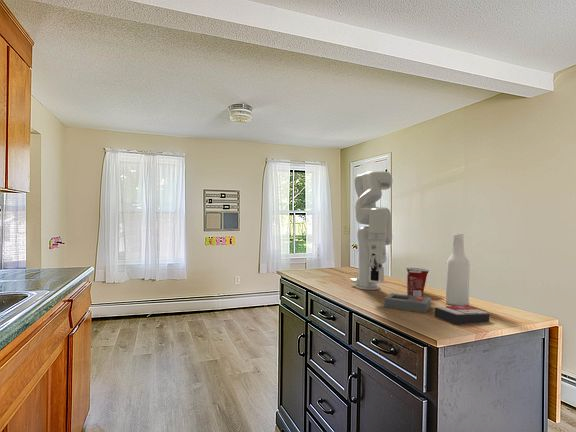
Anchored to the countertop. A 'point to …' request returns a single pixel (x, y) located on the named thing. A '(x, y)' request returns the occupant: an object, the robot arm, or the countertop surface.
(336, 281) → the countertop surface
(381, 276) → the plug
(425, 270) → the plastic cup
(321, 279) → the countertop surface
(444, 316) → the button control panel
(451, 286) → the alcohol
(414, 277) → the soda can
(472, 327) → the countertop surface
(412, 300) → the socket plate
